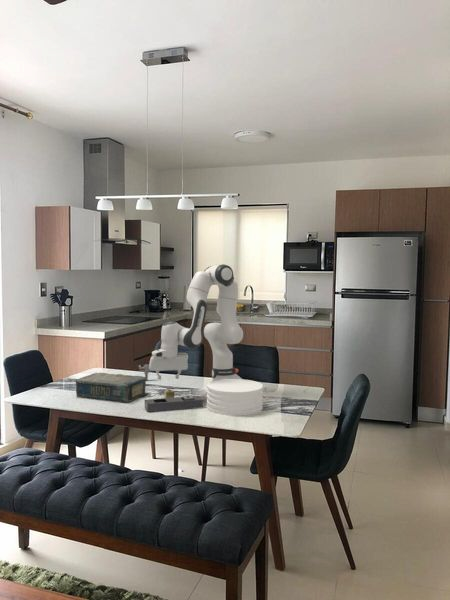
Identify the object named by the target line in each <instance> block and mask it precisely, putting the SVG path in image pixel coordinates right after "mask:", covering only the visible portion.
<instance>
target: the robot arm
mask: <svg viewBox="0 0 450 600" xmlns="http://www.w3.org/2000/svg"><path fill="white" fill-rule="evenodd" d="M234 274H235V273H234V270H233V269H232V267H231V266H229V265H228V264H225V263H223V264H214V265H212V266H211V265H210V266H208V267H206V268H205V269H204V270H200V271H196V272H195V273H194V276H193V277H192V279H191V282H190V284H189V286H188V289H187V293H186V300H187V302H188V305H189V306H191V307H192V309H193V317H192V320H191V325H190V328H189V327H185V326H182V325H181V324H179V323H178V322H177V321H174V320H173V321H166V322H165V323H163V324H162V326H161V331H160V332H161V333H160V336H161V337H160V341H161V345H160V348H159V349H156V350H153V351H152V352H151V357H150V360H149V369H150V370H151V371H150V372H155V373H156V375H157V380H162V375H160V372H161V371H162V372H163V371H167V372H168V371H177V374H175V379H177V380H179V378H180V375H181V373H182V371H187V370H188V368H189V364H188V360H189V354H188V353H186V352H185V351H184V352H180V351H179V350H178V346H183V347H186V348H189V349H190V350H192V349H193V350H194V349H198V348H199V347H200V345H201V344H202V343H203V338H204V337H205V339H206V340H207V342H208V344H209V346H210V349H211V351H212V369H211V378H212V379H211V382H212V381H216V380H222V379H243V378H242V377H240V376H239V374H237V373H238V372H239V369H238V368H237V367H236V368H235V367H234V366H233V365H234V364H233V362H234V360H233V359H234V357H233V356H234V355H233V352H232V351H231V349H229V347H228V345H235V344H239V343H240V342H242V340H243V339H244V331H243V329H242V327H241V326H240V324H239V322H238V318H237V307H238V306H237V305H238V298H239V285H238V282H237V281H235V275H234ZM214 285H215V286H217V287H218V296H217V304H216V313H217V314H218V315H219V316H220V320H221V322H210V323H207V324H206V325H205V326H204V324H205V321H206V320H205V319H206V315H207V310H208V304H207V301H208V296H209V293H210V289H211V287H212V286H214ZM203 335H204V337H203ZM178 351H179V352H178Z"/></svg>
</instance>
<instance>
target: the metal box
mask: <svg viewBox="0 0 450 600" xmlns="http://www.w3.org/2000/svg"><path fill="white" fill-rule="evenodd" d="M146 383H147V381H146V377H145V376H141V375H129V374H126V375H125V374H121V373H118V374H115V373H107V372H95V373H91V374H89V375H85V376H83V377H80V378H79V379H75V387H76V388H75V389H76V391H75V393H76V397H77V398H82V399H91V400H99V401H100V400H101V401H107V402H109V401H110V402H118V403H125V404H127V403H129V402H131V401H133V400H134V401H135V400H136V399H138V398H140V397H141V396H144V395H145V393H146Z"/></svg>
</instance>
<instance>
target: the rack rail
mask: <svg viewBox="0 0 450 600" xmlns="http://www.w3.org/2000/svg"><path fill="white" fill-rule="evenodd" d="M191 396H192V397H193V400H185V401H183V400H182V396H178V397H176V396H174V398H164V397H163V398H152V399H151V398H150V399H144V409H145V411H146V412H147V413H152V412H153V413H154V412H164V411H165V412H167V411H175V410H176V411H177V410H188V409H191V410H192V409H202V408H204V398H202V397H201V396H200V395H191Z"/></svg>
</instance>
